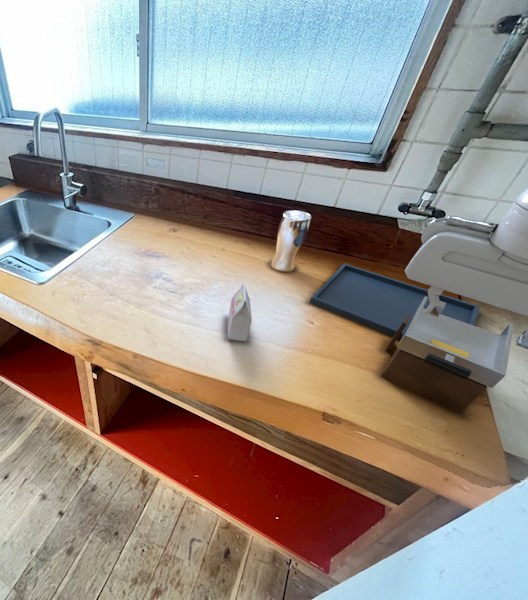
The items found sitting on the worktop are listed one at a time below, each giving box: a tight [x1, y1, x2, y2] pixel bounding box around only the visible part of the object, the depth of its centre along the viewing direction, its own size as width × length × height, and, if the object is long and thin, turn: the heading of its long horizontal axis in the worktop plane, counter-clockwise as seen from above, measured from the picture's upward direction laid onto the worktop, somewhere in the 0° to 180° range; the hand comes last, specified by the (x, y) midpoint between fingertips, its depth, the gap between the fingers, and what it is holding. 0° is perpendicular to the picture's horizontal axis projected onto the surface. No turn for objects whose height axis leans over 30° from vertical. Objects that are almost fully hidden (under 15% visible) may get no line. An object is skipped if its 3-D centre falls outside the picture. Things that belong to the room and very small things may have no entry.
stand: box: [381, 315, 488, 415], centre depth 56 cm, size 14×11×8 cm
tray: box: [308, 263, 481, 341], centre depth 74 cm, size 28×22×2 cm
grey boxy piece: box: [227, 283, 253, 342], centre depth 67 cm, size 4×7×10 cm, turn 166°
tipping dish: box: [396, 296, 515, 389], centre depth 53 cm, size 12×19×3 cm, turn 134°
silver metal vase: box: [270, 209, 312, 273], centre depth 85 cm, size 7×7×15 cm
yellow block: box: [430, 339, 470, 358], centre depth 53 cm, size 5×2×1 cm, turn 44°
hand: (474, 328), depth 44 cm, fingers open, 8 cm apart
